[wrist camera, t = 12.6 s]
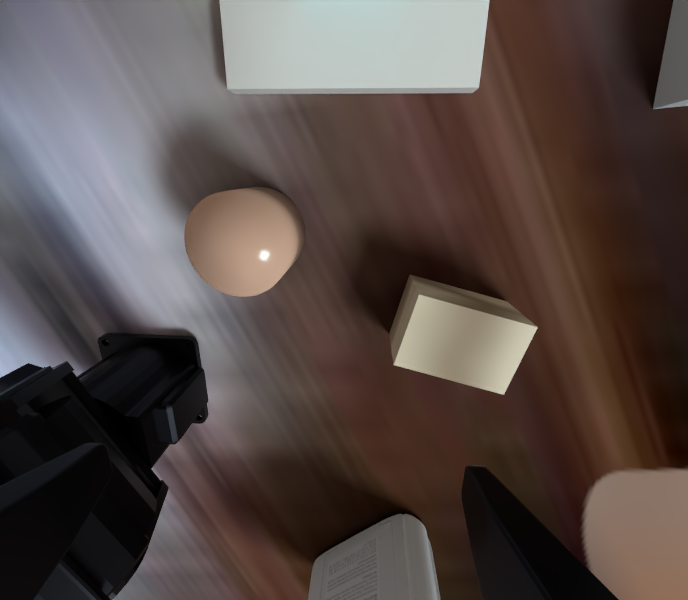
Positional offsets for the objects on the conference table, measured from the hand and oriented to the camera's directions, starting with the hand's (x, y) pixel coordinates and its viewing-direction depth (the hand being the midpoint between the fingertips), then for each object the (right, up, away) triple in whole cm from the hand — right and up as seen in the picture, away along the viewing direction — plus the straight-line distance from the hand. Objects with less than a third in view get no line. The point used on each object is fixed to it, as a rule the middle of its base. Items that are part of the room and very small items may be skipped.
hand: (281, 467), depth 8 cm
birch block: (+8, +3, +12) cm, 15 cm away
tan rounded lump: (-3, +8, +11) cm, 14 cm away
